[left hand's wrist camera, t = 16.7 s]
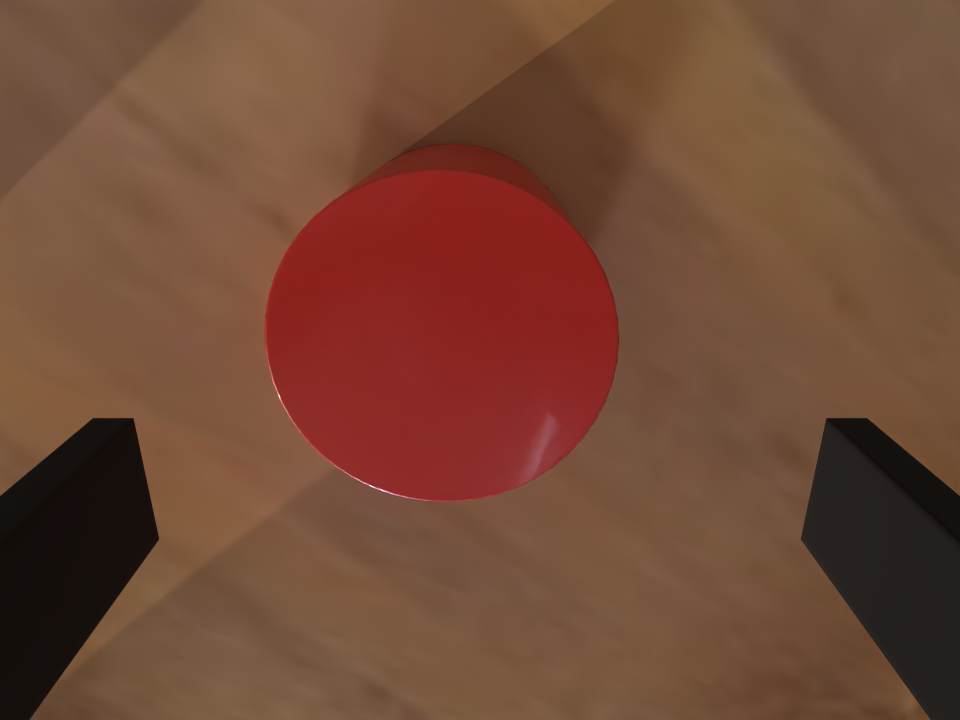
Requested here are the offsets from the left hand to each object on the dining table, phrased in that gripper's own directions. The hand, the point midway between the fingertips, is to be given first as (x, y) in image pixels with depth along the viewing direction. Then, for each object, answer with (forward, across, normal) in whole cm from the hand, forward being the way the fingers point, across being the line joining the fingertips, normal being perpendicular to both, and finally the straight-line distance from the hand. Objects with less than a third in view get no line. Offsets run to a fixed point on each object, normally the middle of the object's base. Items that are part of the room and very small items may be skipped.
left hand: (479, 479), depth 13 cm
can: (+13, +1, -1) cm, 13 cm away
